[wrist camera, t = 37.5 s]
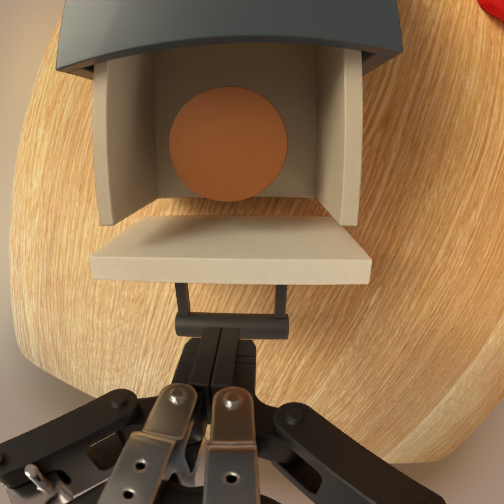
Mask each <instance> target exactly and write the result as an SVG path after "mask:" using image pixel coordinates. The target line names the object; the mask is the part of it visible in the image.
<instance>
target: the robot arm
mask: <svg viewBox="0 0 504 504" xmlns="http://www.w3.org/2000/svg"><path fill="white" fill-rule="evenodd" d="M255 386H256V346H255V345H254V343H253V341H252V340H241V339H240V328H225V327H223V328H222V327H205V328H204V330H203V334H202V337H201V338H194V337H192V338H191V339H190V340H189V341H188V342H187V343H186V344H185V346H184V349H183V352H182V355H181V358H180V361H179V363H178V366H177V369H176V372H175V375H174V377H173V380H172V383H171V384H170V385H168V386H166V387H164V388H163V389H162V390H161V392H160V394H159V395H158V396H155V397H149V398H139V399H137V396H136V395H135V393H133V392H132V391H130V390H127V389H116V390H113V391H110V392H108V393H107V394H105V395H103V396H101V397H99V398H97V399H95V400H93V401H91V402H89V403H87V404H85V405H83V406H81V407H79V408H77V409H75V410H73V411H71V412H69V413H67V414H65V415H62V416H61V417H58V418H56V419H54V420H52V421H50V422H48V423H46V424H43V425H41V426H39V427H37V428H35V429H33V430H30V431H29V432H26V433H24V434H21V435H19V436H17V437H15V438H13V439H10V440H8V441H5V442H3V443H1V444H0V483H1V484H2V485H3V486H4V487H5V489H6V491H7V493H8V496H9V498H10V501H11V503H12V504H281V503H279V502H277V501H276V500H273V499H271V498H269V497H267V496H264V495H261V494H260V487H259V473H258V457H260V458H263V459H267V460H270V461H271V462H272V464H273V465H274V467H276V468H277V469H278V470H279V471H280V472H281V473H282V474H283V475H284V476H285V477H286V478H287V479H288V480H289V481H291V482H292V483H293V484H294V485H295V486H296V487H297V488H298V489H299V490H300V491H301V492H303V493H304V494H305V495H306V496H307V497H308V498H310V499H311V500H312V501H313V502H314V503H315V504H446V503H445V501H444V499H443V498H442V497H441V496H439V495H438V494H436V493H434V492H433V491H431V490H429V489H428V488H426V487H424V486H423V485H421V484H419V483H418V482H416V481H414V480H413V479H411V478H410V477H408V476H407V475H405V474H403V473H402V472H400V471H399V470H397V469H396V468H394V467H393V466H391V465H389V464H388V463H387V462H385V461H384V460H382V459H381V458H379V457H378V456H376V455H375V454H373V453H372V452H370V451H369V450H367V449H366V448H365V447H363V446H362V445H360V444H359V443H357V442H356V441H355V440H353V439H352V438H350V437H349V436H348V435H346V434H345V433H344V432H342V431H341V430H339V429H338V428H337V427H335V426H334V425H333V424H331V423H330V422H329V421H327V420H326V419H325V418H323V417H322V416H321V415H320V414H318V413H317V412H316V411H314V410H313V409H312V408H311V407H309V406H307V405H305V404H303V403H298V402H291V403H286V404H284V405H282V406H280V407H279V408H276V407H272V406H269V405H266V404H264V403H262V402H261V401H260V400H259V399H258V398H257V397H256V395H255ZM207 424H211V430H210V442H209V444H207V448H206V461H205V475H204V486H199V487H195V476H196V472H197V468H198V465H199V461H200V457H201V454H202V451H203V447H204V444H205V440H206V437H205V433H206V428H207ZM113 433H115V434H113ZM111 434H113V435H111ZM109 435H111V436H110V437H108V438H106V437H107V436H109ZM104 438H106V439H104ZM102 439H104V440H102ZM100 440H102V441H100ZM98 441H100V442H99V443H97V444H95V445H93V444H94V443H96V442H98ZM91 445H93V446H91ZM90 446H91V447H90ZM108 477H109V479H108V481H105V482H103V483H102V484H99V485H98V486H96V487H94V488H92V489H91V490H89V491H87V492H85V493H84V494H82V495H80V496H78V497H76V498H75V499H73V496H74V495H76V494H78V493H80V492H82V491H84V490H86V489H88V488H90V487H92V486H94V485H95V484H97V483H99V482H101V481H103V480H104V479H106V478H108Z"/></svg>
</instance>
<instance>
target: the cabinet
mask: <svg viewBox="0 0 504 504" xmlns="http://www.w3.org/2000/svg"><path fill="white" fill-rule="evenodd" d="M226 43H293V44H308V45H320V46H330V47H338V48H346V49H353V50H359V51H361V60H362V76H364V75H365V74H367V73H369V72H370V71H372V70H374V69H375V68H377V67H379V66H380V65H382V64H384V63H385V62H387V61H389V60H391V59H392V58H394V57H396V56H398V55H399V54H401V53H403V47H402V37H401V28H400V20H399V13H398V7H397V1H396V0H66V2H65V7H64V12H63V17H62V23H61V29H60V35H59V43H58V51H57V60H56V70H57V71H61V72H65V73H69V74H72V75H76V76H80V77H84V78H87V79H91V80H93V76H94V64H97V63H101V62H105V61H109V60H113V59H118V58H122V57H127V56H131V55H136V54H142V53H147V52H153V51H159V50H165V49H172V48H180V47H189V46H198V45H210V44H226Z"/></svg>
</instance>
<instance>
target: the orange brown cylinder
mask: <svg viewBox="0 0 504 504" xmlns="http://www.w3.org/2000/svg"><path fill="white" fill-rule="evenodd" d="M287 150H288V136H287V131H286V127H285V124H284V121H283V119H282V117H281V115H280V113H279V112H278V111H277V109H276V108H275V107H274V106H273V104H272V103H271V102H270V101H268V100H267V99H266V98H265V97H263V96H262V95H260V94H258V93H257V92H254V91H252V90H250V89H246V88H243V87H237V86H222V87H216V88H212V89H209V90H206V91H204V92H202V93H200V94H198V95H196V96H195V97H194V98H192V99H191V100H190V101H189V102H188V103H186V104H185V105H184V107H183V108H182V109H181V110H180V112H179V113H178V115H177V116H176V118H175V120H174V123H173V125H172V128H171V131H170V137H169V153H170V158H171V162H172V164H173V167H174V169H175V171H176V173H177V175H178V176H179V178H180V179H181V180H182V182H183V183H184V184H185V185H186V186H187V187H188V188H190V189H191V190H192V191H193V192H195V193H197V194H198V195H200V196H202V197H204V198H207V199H210V200H214V201H219V202H236V201H241V200H245V199H248V198H251V197H253V196H255V195H257V194H259V193H260V192H262V191H263V190H265V189H266V188H267V187H268V186H270V185H271V183H272V182H273V181H274V180H275V179H276V178H277V176H278V175H279V173H280V171H281V169H282V168H283V165H284V163H285V160H286V156H287Z"/></svg>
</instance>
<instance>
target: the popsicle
mask: <svg viewBox="0 0 504 504" xmlns="http://www.w3.org/2000/svg"><path fill="white" fill-rule="evenodd" d="M478 2H479V4H480V6H481V7H482V8H483V9H484V10H485V11H486V12H488V13H489V14H491V15H493V16H494V17H496V18H498V19H500V20H501V21H503V22H504V0H478Z"/></svg>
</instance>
